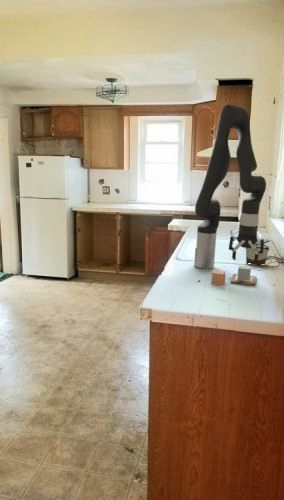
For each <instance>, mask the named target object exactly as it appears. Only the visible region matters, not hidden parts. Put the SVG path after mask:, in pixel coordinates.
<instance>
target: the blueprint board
mask: <svg viewBox="0 0 284 500" xmlns="http://www.w3.org/2000/svg"><path fill="white" fill-rule="evenodd" d="M237 278H238V273H233V274H232V277H231V279H230V284H234V285H242V286H249V287H250V286H251V287H256V282H257V276H254V275H250V280H249V281H248V280H239V279H237Z"/></svg>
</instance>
